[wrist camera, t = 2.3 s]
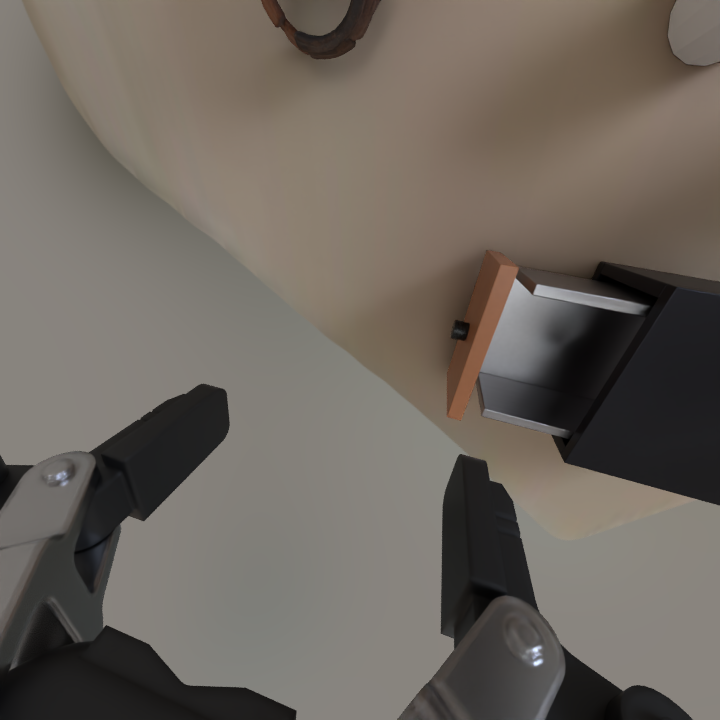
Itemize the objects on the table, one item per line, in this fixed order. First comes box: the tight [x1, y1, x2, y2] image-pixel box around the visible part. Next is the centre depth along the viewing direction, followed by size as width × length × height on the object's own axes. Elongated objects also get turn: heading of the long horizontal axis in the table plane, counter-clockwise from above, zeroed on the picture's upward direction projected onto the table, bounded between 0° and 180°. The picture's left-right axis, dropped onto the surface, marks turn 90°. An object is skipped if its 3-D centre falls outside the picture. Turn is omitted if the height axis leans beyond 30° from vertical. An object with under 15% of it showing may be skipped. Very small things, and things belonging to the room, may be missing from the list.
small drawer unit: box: [552, 261, 720, 505], centre depth 23 cm, size 16×14×10 cm
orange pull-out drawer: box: [447, 250, 658, 439], centre depth 25 cm, size 16×13×8 cm
